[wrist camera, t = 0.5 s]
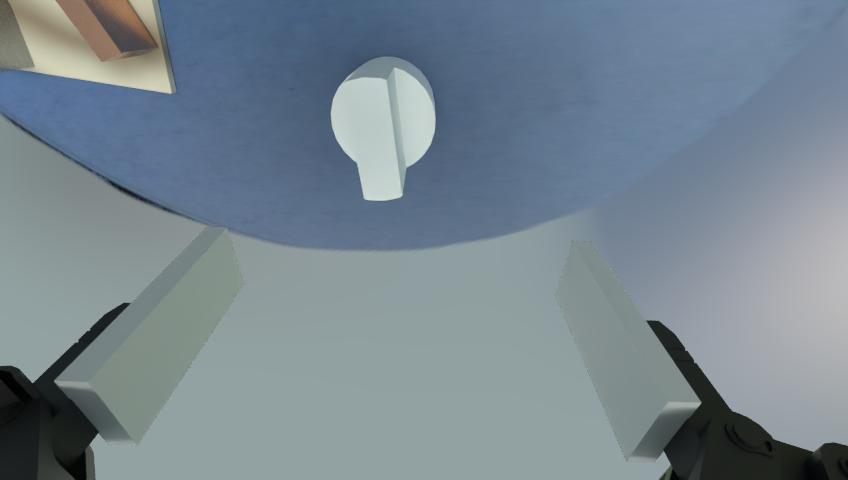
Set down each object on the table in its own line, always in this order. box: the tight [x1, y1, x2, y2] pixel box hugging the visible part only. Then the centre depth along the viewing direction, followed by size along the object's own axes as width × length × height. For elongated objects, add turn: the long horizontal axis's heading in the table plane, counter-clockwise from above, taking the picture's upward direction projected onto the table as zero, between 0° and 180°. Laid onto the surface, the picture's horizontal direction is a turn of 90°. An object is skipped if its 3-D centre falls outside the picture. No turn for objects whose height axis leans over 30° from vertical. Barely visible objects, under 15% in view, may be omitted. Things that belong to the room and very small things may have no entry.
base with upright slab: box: [331, 56, 436, 201], centre depth 31 cm, size 9×9×12 cm
